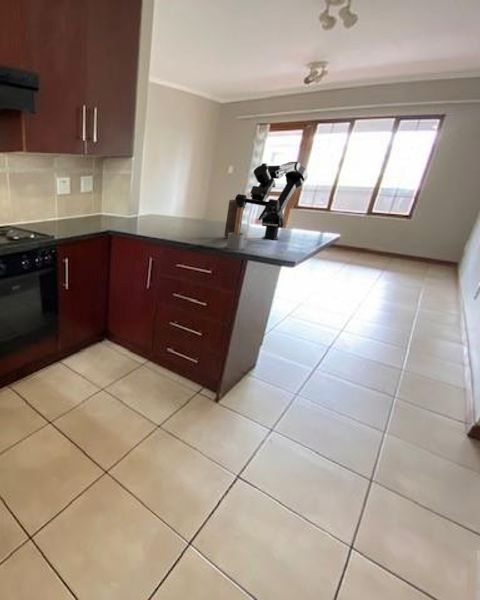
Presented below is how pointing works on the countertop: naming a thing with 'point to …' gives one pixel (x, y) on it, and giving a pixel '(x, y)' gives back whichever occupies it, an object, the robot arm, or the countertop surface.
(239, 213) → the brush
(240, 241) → the grey cube
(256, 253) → the countertop surface
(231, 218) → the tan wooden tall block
